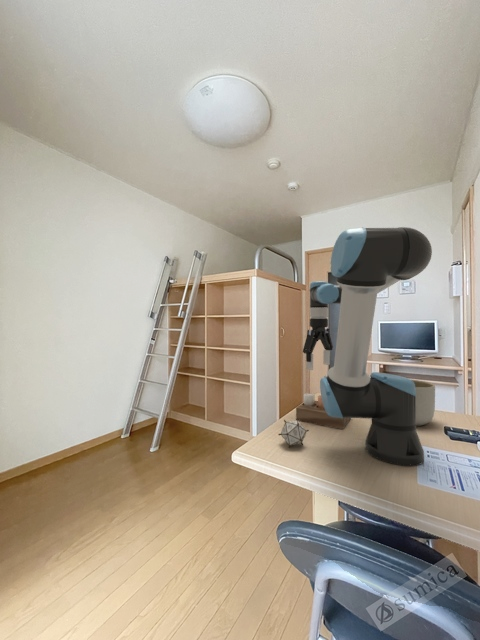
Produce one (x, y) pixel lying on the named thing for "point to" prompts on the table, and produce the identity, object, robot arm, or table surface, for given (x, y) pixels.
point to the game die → (293, 432)
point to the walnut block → (319, 416)
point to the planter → (424, 402)
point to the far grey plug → (309, 400)
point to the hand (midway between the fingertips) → (318, 366)
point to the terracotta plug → (320, 402)
